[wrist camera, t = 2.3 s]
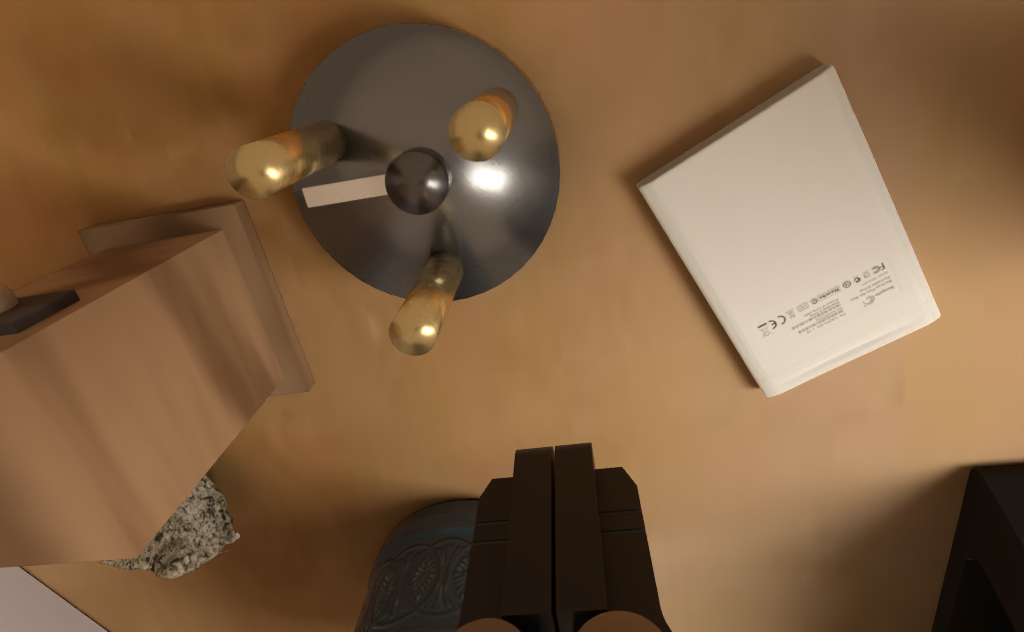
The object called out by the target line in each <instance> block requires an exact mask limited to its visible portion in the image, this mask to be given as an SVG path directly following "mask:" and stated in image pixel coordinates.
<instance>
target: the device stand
mask: <svg viewBox="0 0 1024 632" xmlns="http://www.w3.org/2000/svg"><path fill="white" fill-rule="evenodd" d="M931 632H1024V465H1016V466H1002V467H988V468H974V469H971V470H970V474H969V478H968V482H967V486H966V491H965V495H964V499H963V503H962V507H961V511H960V515H959V520H958V524H957V528H956V532H955V536H954V540H953V544H952V549H951V553H950V557H949V561H948V565H947V569H946V573H945V578H944V582H943V586H942V590H941V594H940V598H939V602H938V607H937V611H936V615H935V619H934V623H933V627H932V631H931Z"/></svg>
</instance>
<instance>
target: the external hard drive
mask: <svg viewBox="0 0 1024 632" xmlns="http://www.w3.org/2000/svg"><path fill="white" fill-rule="evenodd" d="M636 186H637V188H638V189H639V191H640V192H641V194H642V195H643V197H644V199H645V200H646V202H647V204H648V205H649V207H650V209H651V210H652V212H653V214H654V215H655V217H656V219H657V220H658V222H659V223H660V225H661V227H662V228H663V230H664V231H665V233H666V235H667V236H668V238H669V239H670V241H671V243H672V244H673V246H674V248H675V249H676V251H677V253H678V254H679V256H680V258H681V259H682V261H683V263H684V264H685V266H686V267H687V269H688V271H689V272H690V274H691V276H692V277H693V279H694V281H695V282H696V284H697V285H698V287H699V289H700V290H701V292H702V294H703V295H704V297H705V299H706V300H707V302H708V304H709V305H710V307H711V309H712V310H713V312H714V313H715V315H716V317H717V318H718V320H719V322H720V323H721V325H722V327H723V328H724V330H725V331H726V333H727V335H728V336H729V338H730V340H731V341H732V343H733V345H734V346H735V348H736V350H737V351H738V353H739V354H740V356H741V358H742V359H743V361H744V363H745V364H746V366H747V367H748V369H749V371H750V372H751V374H752V376H753V377H754V379H755V381H756V382H757V384H758V385H759V387H760V389H761V390H762V392H763V394H764V395H765V397H773V396H776V395H779V394H781V393H783V392H785V391H787V390H790V389H792V388H794V387H796V386H798V385H800V384H802V383H804V382H806V381H808V380H810V379H813V378H815V377H817V376H819V375H821V374H823V373H825V372H828V371H830V370H832V369H834V368H836V367H838V366H840V365H842V364H845V363H847V362H849V361H851V360H854V359H856V358H857V357H860V356H862V355H864V354H866V353H868V352H871V351H873V350H875V349H877V348H879V347H881V346H884V345H886V344H888V343H890V342H892V341H894V340H896V339H898V338H901V337H903V336H905V335H907V334H910V333H912V332H914V331H916V330H918V329H920V328H922V327H925V326H927V325H929V324H930V323H932V322H934V321H935V320H936V319H938V318H939V317H940V316H941V315H940V312H939V310H938V308H937V305H936V303H935V301H934V298H933V296H932V294H931V291H930V289H929V286H928V284H927V281H926V279H925V277H924V274H923V272H922V270H921V267H920V265H919V262H918V260H917V258H916V255H915V253H914V251H913V248H912V246H911V244H910V241H909V239H908V236H907V234H906V232H905V229H904V227H903V225H902V223H901V220H900V218H899V215H898V213H897V211H896V209H895V206H894V204H893V202H892V199H891V197H890V194H889V192H888V190H887V187H886V185H885V183H884V181H883V178H882V176H881V174H880V171H879V169H878V166H877V164H876V162H875V159H874V157H873V155H872V152H871V150H870V148H869V145H868V143H867V141H866V138H865V136H864V134H863V132H862V129H861V127H860V125H859V123H858V120H857V118H856V116H855V114H854V112H853V110H852V107H851V105H850V102H849V100H848V97H847V95H846V92H845V90H844V88H843V86H842V83H841V81H840V79H839V77H838V74H837V72H836V70H835V67H834V66H833V65H832V64H823V65H820V66H819V67H817V68H815V69H814V70H812V71H811V72H809V73H808V74H806V75H805V76H803V77H802V78H800V79H798V80H797V81H795V82H794V83H792V84H791V85H789V86H788V87H786V88H784V89H783V90H781V91H780V92H778V93H777V94H775V95H774V96H772V97H770V98H769V99H767V100H766V101H764V102H763V103H761V104H759V105H758V106H756V107H755V108H753V109H752V110H750V111H749V112H747V113H745V114H744V115H742V116H741V117H739V118H738V119H736V120H735V121H733V122H731V123H730V124H728V125H727V126H725V127H724V128H722V129H720V130H719V131H717V132H716V133H714V134H713V135H711V136H710V137H708V138H706V139H705V140H703V141H702V142H700V143H699V144H697V145H695V146H694V147H692V148H691V149H689V150H688V151H686V152H684V153H683V154H681V155H680V156H678V157H677V158H675V159H674V160H672V161H670V162H669V163H667V164H666V165H664V166H663V167H661V168H659V169H658V170H656V171H655V172H653V173H652V174H650V175H648V176H647V177H645V178H644V179H642V180H640V181H639V182H637V184H636Z"/></svg>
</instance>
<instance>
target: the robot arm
mask: <svg viewBox="0 0 1024 632" xmlns="http://www.w3.org/2000/svg"><path fill="white" fill-rule="evenodd" d="M455 632H672V631H671V630H670V628H669V626H668V625H667V623H666V621H665V619H664V617H663V615H662V611H661V607H660V603H659V597H658V592H657V587H656V582H655V577H654V572H653V566H652V561H651V556H650V551H649V546H648V541H647V535H646V531H645V525H644V520H643V515H642V510H641V504H640V499H639V494H638V489H637V485H636V484H635V483H634V481H633V480H632V479H631V478H630V476H629V475H628V474H627V473H626V471H625V470H624V469H623V468H622V467H616V468H605V469H595V463H594V456H593V449H592V443H581V444H571V445H561V446H555V454H554V450H553V447H542V448H532V449H522V450H516V453H515V461H514V473H513V477H509V478H498V479H492V480H491V482H490V483H489V485H488V486H487V488H486V489H485V491H484V492H483V494H482V495H481V497H480V498H479V501H478V507H477V513H476V520H475V527H474V532H473V538H472V546H471V551H470V557H469V564H468V570H467V576H466V583H465V589H464V595H463V601H462V608H461V614H460V620H459V624H458V628H457V630H456V631H455Z"/></svg>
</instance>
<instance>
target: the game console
mask: <svg viewBox="0 0 1024 632" xmlns="http://www.w3.org/2000/svg"><path fill="white" fill-rule="evenodd" d="M0 632H107V631H106V630H105V629H103V628H102V627H101V626H99V625H98V624H96V623H95V622H94V621H92V620H91V619H90V618H88V617H87V616H86V615H84V614H83V613H81V612H80V611H79V610H77V609H76V608H75V607H73V606H72V605H70V604H69V603H68V602H66V601H65V600H64V599H62V598H61V597H60V596H58V595H57V594H55V593H54V592H53V591H51V590H50V589H49V588H47V587H46V586H44V585H43V584H42V583H40V582H39V581H38V580H36V579H35V578H34V577H32V576H31V575H29V574H28V573H27V572H25V571H24V570H23V569H21V568H20V567H5V568H0Z"/></svg>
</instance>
